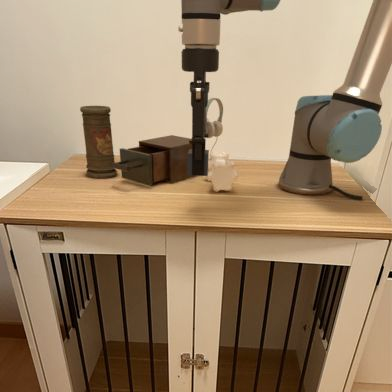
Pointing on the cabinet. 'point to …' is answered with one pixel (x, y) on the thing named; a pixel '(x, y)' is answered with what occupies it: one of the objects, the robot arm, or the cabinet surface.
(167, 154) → the drawer
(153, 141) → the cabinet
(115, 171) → the container
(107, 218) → the cabinet surface
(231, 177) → the white rounded figure
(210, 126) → the headphones
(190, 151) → the block
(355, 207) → the cabinet surface
